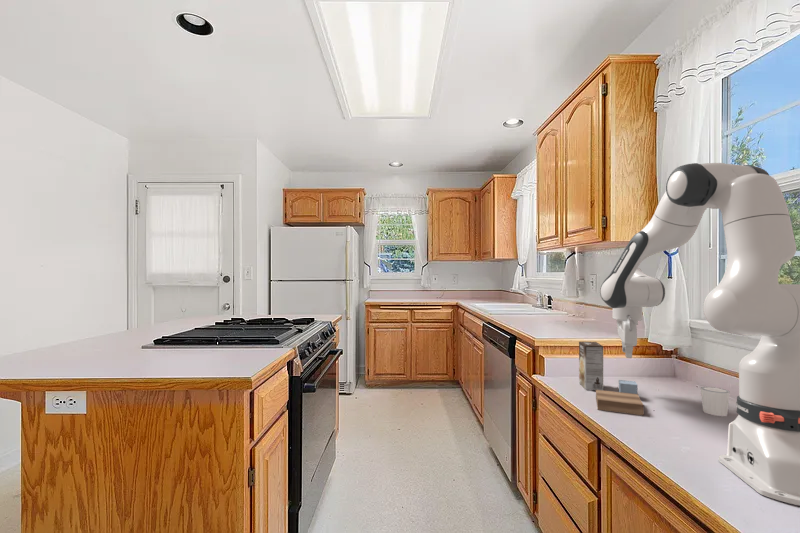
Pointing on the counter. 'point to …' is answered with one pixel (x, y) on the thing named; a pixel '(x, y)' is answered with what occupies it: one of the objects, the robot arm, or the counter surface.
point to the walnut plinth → (619, 402)
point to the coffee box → (591, 365)
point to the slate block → (628, 387)
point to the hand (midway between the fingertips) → (627, 354)
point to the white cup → (715, 401)
